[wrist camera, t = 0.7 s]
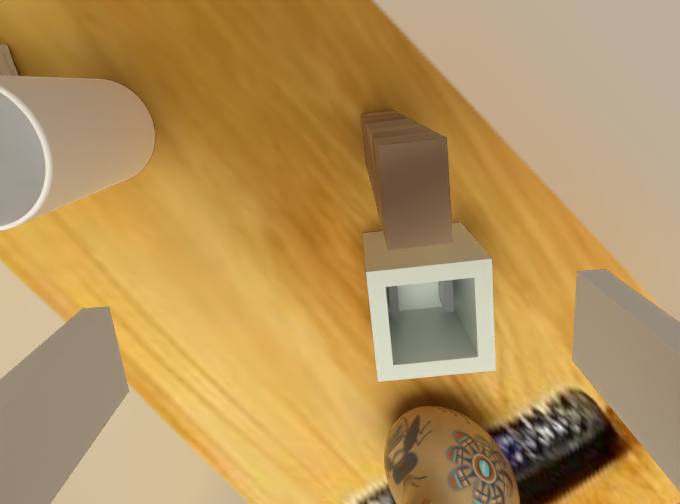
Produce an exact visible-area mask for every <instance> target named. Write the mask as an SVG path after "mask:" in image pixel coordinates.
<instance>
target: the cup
mask: <svg viewBox="0 0 680 504" xmlns="http://www.w3.org/2000/svg"><path fill="white" fill-rule="evenodd" d="M154 145H155V129H154V124H153V121H152V118H151V115H150V113H149V111H148V109H147V108H146V106H145V105H144V103H143V102H142V101H141V99H140V98H139V97H138V96H137V95H136V94H135V93H134V92H132V91H131V90H130V89H128V88H127V87H125V86H123V85H121V84H119V83H117V82H114V81H111V80H106V79H95V78H66V77H38V76H9V75H0V231H1V230H5V229H9V228H13V227H16V226H18V225H21V224H23V223H25V222H28V221H30V220H33V219H35V218H37V217H40V216H42V215H45V214H47V213H49V212H52V211H54V210H56V209H59V208H61V207H64V206H66V205H68V204H71V203H73V202H75V201H78V200H80V199H83V198H85V197H87V196H90V195H92V194H94V193H97V192H99V191H102V190H104V189H106V188H109V187H111V186H113V185H116V184H118V183H121V182H123V181H125V180H128V179H130V178H132V177H134V176H135V175H137V174H138V173H139V172H141V171H142V170H143V169H144V167H145V166H146V165H147V163H148V162H149V160H150V158H151V156H152V154H153V150H154Z"/></svg>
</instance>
